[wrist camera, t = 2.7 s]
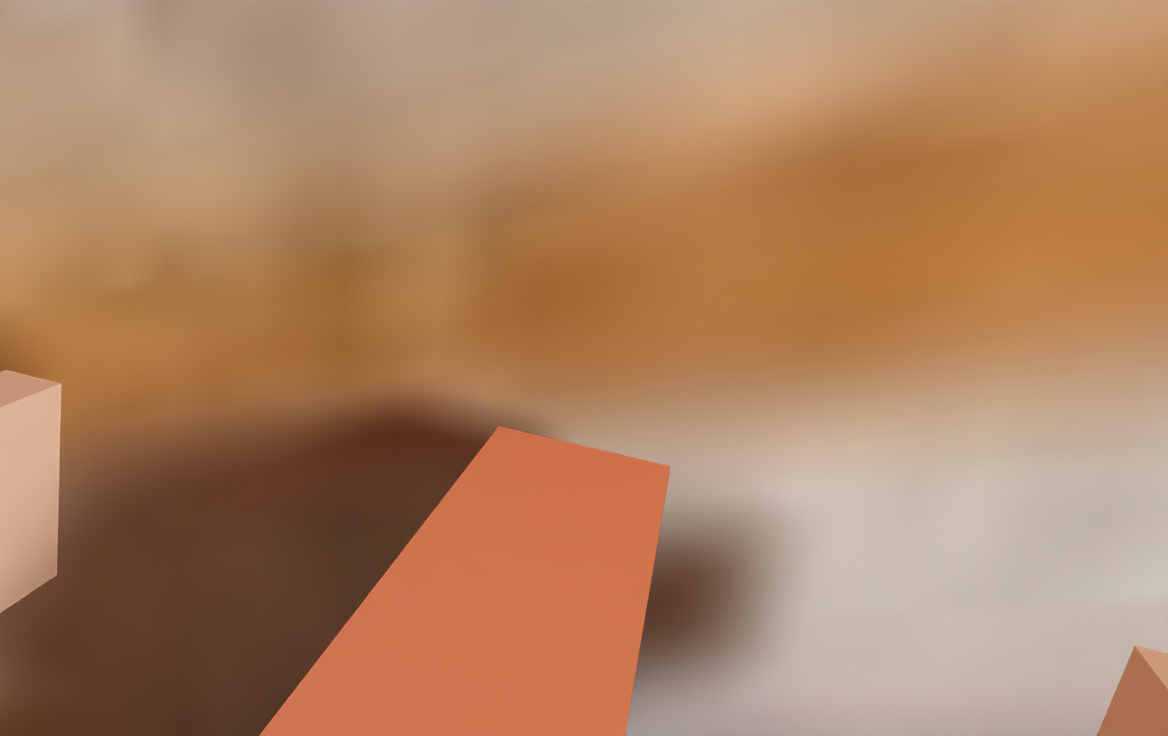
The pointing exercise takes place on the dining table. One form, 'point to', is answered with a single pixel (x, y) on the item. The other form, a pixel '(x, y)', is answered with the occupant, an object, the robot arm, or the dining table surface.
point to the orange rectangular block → (501, 605)
